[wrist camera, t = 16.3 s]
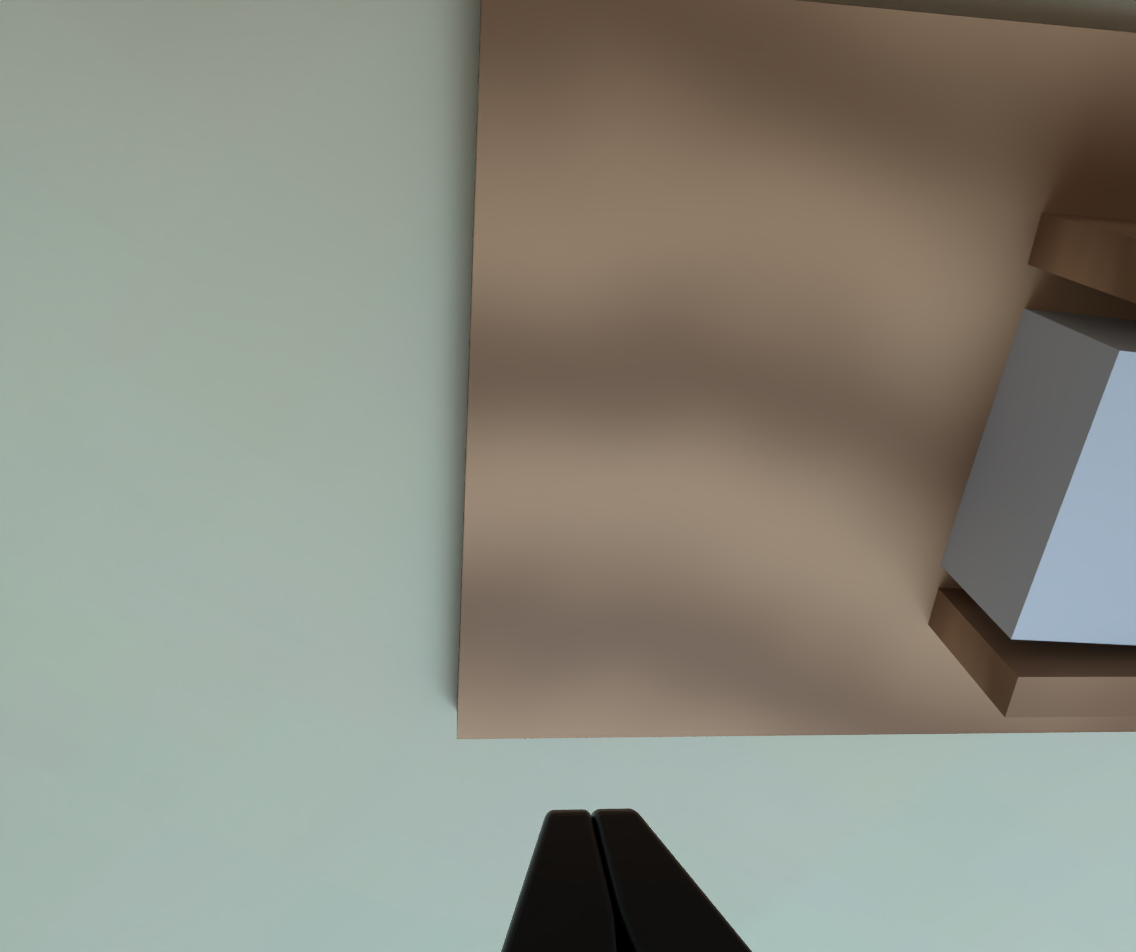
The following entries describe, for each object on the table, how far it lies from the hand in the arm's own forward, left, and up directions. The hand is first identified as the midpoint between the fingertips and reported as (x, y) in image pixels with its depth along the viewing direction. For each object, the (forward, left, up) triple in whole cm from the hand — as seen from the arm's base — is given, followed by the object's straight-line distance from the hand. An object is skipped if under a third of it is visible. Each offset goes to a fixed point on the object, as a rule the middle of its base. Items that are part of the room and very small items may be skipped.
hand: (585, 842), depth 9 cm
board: (0, +10, -12) cm, 16 cm away
